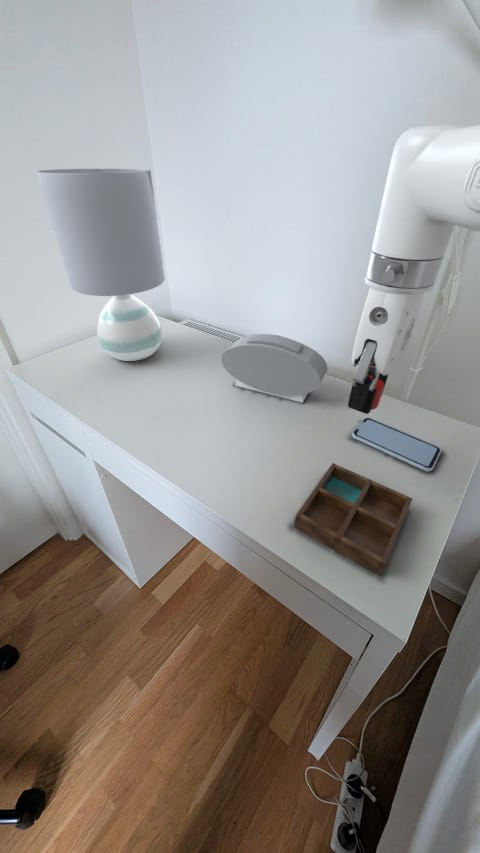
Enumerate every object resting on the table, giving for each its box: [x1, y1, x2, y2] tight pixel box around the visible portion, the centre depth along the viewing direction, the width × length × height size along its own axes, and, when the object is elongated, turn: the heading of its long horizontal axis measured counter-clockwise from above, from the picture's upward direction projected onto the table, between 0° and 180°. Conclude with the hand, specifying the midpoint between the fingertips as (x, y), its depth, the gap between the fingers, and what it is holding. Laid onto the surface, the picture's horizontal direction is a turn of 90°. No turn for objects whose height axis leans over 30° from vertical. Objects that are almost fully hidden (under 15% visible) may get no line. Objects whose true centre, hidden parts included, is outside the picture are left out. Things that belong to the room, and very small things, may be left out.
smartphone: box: [351, 417, 442, 473], centre depth 64 cm, size 7×1×15 cm
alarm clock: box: [220, 333, 328, 403], centre depth 76 cm, size 23×6×13 cm, turn 65°
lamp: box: [36, 167, 166, 362], centre depth 80 cm, size 22×22×40 cm
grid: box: [293, 462, 413, 577], centre depth 51 cm, size 13×13×3 cm
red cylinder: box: [369, 376, 385, 411], centre depth 49 cm, size 4×4×4 cm
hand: (364, 401), depth 50 cm, fingers closed on red cylinder, 4 cm apart
